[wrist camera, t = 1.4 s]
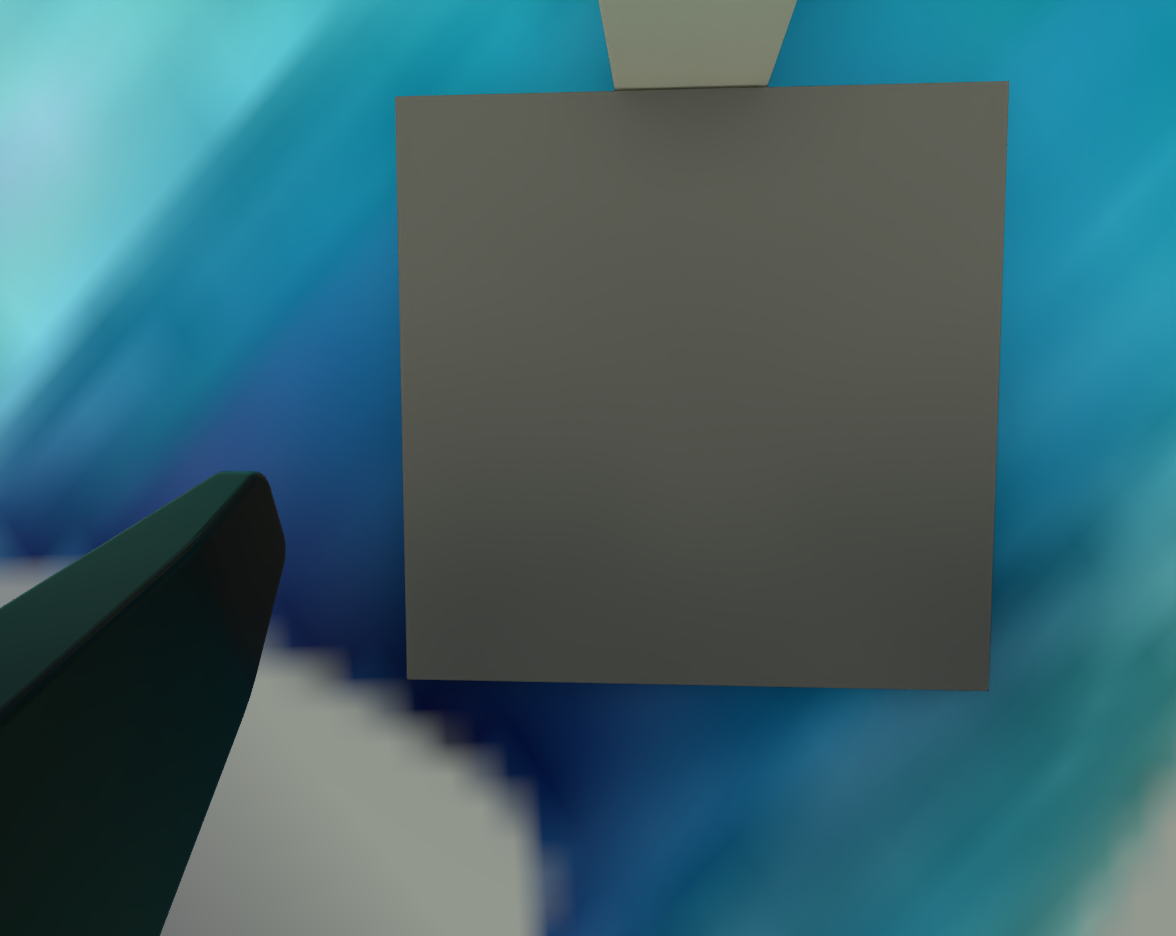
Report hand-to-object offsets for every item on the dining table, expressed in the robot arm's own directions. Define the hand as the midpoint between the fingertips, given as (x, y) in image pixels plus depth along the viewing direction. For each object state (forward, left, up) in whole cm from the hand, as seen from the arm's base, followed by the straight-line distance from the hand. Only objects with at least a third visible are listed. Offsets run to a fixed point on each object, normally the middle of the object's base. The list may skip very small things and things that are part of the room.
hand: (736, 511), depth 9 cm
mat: (+1, 0, -12) cm, 12 cm away
